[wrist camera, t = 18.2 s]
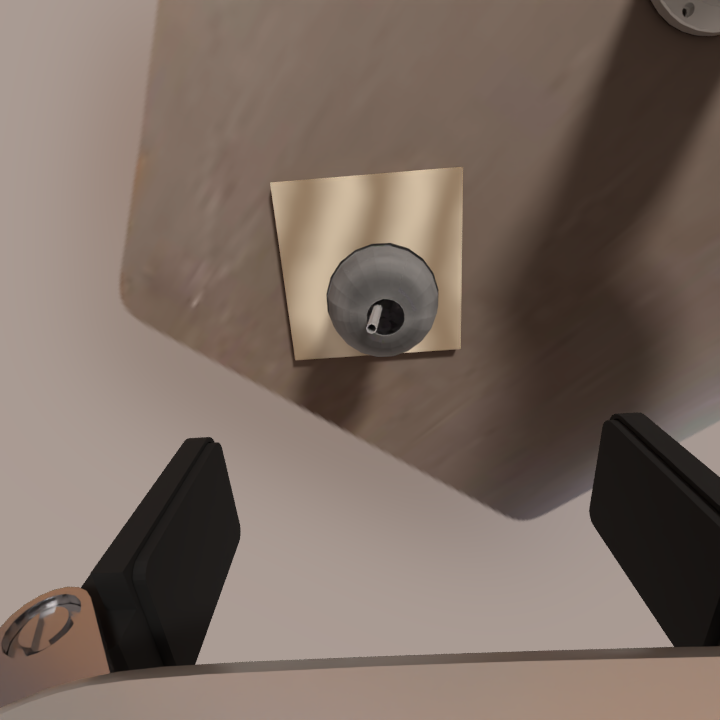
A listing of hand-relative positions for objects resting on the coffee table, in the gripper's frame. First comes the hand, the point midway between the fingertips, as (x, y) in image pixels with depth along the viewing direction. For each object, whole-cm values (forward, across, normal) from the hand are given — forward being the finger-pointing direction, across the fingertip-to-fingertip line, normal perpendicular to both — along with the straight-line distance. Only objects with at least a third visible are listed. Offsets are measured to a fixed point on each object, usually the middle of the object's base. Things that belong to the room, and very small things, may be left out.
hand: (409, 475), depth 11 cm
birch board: (+31, +1, 0) cm, 31 cm away
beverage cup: (+30, 0, 0) cm, 30 cm away
